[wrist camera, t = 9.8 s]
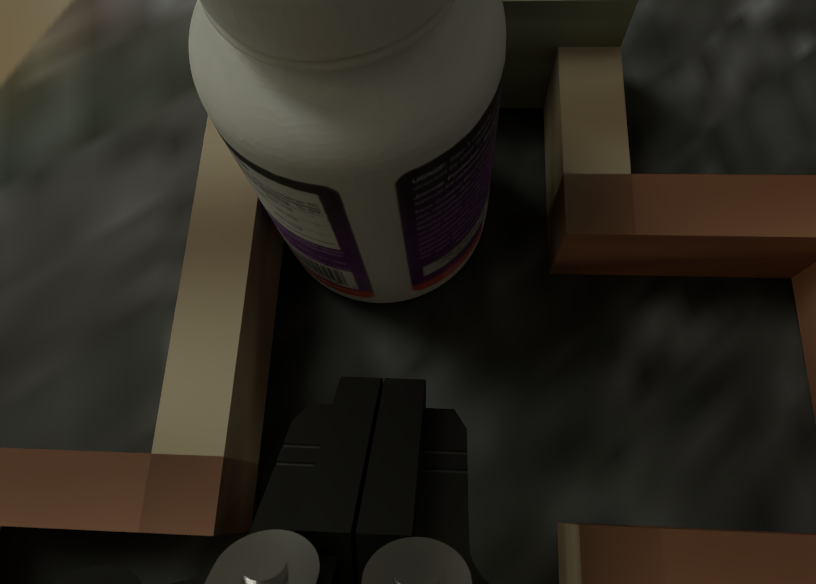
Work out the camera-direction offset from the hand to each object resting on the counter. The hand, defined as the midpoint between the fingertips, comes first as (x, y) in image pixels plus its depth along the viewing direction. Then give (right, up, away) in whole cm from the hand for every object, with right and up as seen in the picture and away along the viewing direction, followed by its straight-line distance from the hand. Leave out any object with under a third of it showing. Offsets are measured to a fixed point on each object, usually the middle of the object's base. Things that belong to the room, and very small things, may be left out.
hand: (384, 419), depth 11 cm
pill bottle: (0, +4, +6) cm, 7 cm away
